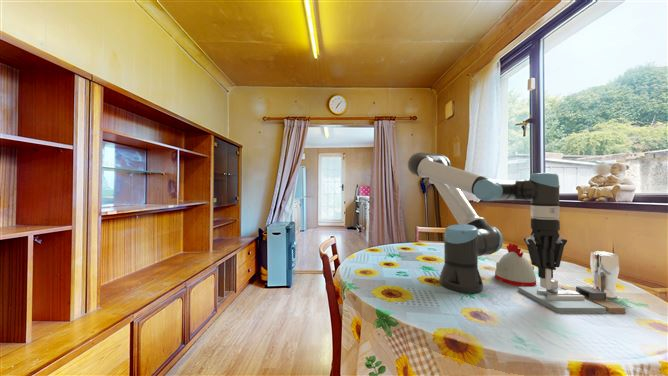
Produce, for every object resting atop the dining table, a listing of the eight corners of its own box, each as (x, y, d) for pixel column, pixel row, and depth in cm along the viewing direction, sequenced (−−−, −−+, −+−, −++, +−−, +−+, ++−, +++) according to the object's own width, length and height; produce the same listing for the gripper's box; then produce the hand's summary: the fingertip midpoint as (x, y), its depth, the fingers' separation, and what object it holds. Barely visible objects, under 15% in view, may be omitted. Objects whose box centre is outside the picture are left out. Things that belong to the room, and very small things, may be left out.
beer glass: (625, 300, 84) (625, 256, 84) (601, 298, 85) (601, 255, 85) (607, 291, 91) (607, 251, 91) (585, 290, 92) (585, 250, 92)
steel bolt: (551, 297, 81) (551, 281, 81) (543, 293, 84) (543, 278, 84) (581, 297, 81) (581, 282, 81) (572, 293, 84) (572, 278, 84)
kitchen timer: (518, 274, 109) (518, 240, 109) (545, 286, 95) (545, 248, 95) (487, 274, 109) (487, 241, 109) (511, 286, 95) (511, 248, 95)
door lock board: (557, 312, 75) (557, 299, 75) (518, 290, 91) (518, 280, 91) (625, 313, 75) (625, 300, 75) (574, 291, 91) (574, 280, 91)
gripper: (534, 219, 79) (535, 292, 79) (574, 219, 79) (576, 292, 79) (517, 217, 87) (518, 283, 86) (554, 217, 86) (555, 283, 86)
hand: (545, 287), depth 82 cm, fingers closed
